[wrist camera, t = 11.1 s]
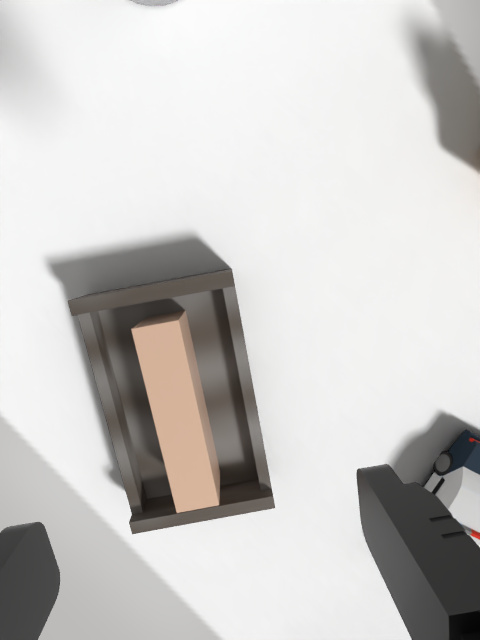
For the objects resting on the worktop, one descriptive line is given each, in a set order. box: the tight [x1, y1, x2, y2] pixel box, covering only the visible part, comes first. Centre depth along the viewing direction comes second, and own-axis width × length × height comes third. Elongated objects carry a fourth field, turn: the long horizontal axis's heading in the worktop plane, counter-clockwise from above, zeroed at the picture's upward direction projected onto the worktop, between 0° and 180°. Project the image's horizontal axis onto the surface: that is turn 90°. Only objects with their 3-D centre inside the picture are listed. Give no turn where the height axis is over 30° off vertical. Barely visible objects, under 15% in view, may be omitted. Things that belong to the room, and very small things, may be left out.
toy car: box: [424, 429, 480, 546], centre depth 35 cm, size 5×16×5 cm, turn 152°
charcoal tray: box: [68, 269, 275, 534], centre depth 32 cm, size 21×13×4 cm, turn 10°
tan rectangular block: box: [131, 310, 220, 513], centre depth 30 cm, size 16×4×4 cm, turn 10°
